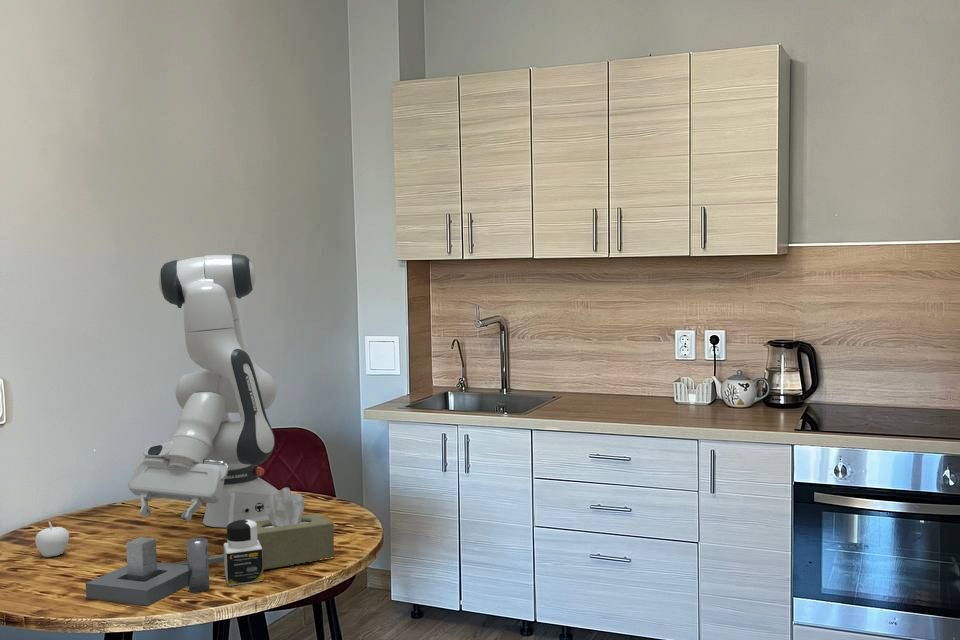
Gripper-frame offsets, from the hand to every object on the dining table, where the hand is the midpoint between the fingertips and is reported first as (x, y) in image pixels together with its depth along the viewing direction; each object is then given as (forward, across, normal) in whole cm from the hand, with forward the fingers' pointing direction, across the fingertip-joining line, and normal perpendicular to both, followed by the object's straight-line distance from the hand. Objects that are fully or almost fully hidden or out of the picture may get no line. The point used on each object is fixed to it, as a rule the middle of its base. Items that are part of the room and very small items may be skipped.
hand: (164, 517), depth 189 cm
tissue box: (0, -22, -18) cm, 28 cm away
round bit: (+13, -11, -3) cm, 17 cm away
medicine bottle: (+8, -18, -8) cm, 21 cm away
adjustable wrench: (+4, -4, -17) cm, 18 cm away
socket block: (+14, 0, -3) cm, 15 cm away
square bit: (+14, 0, -3) cm, 15 cm away
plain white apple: (+5, +35, -20) cm, 40 cm away
